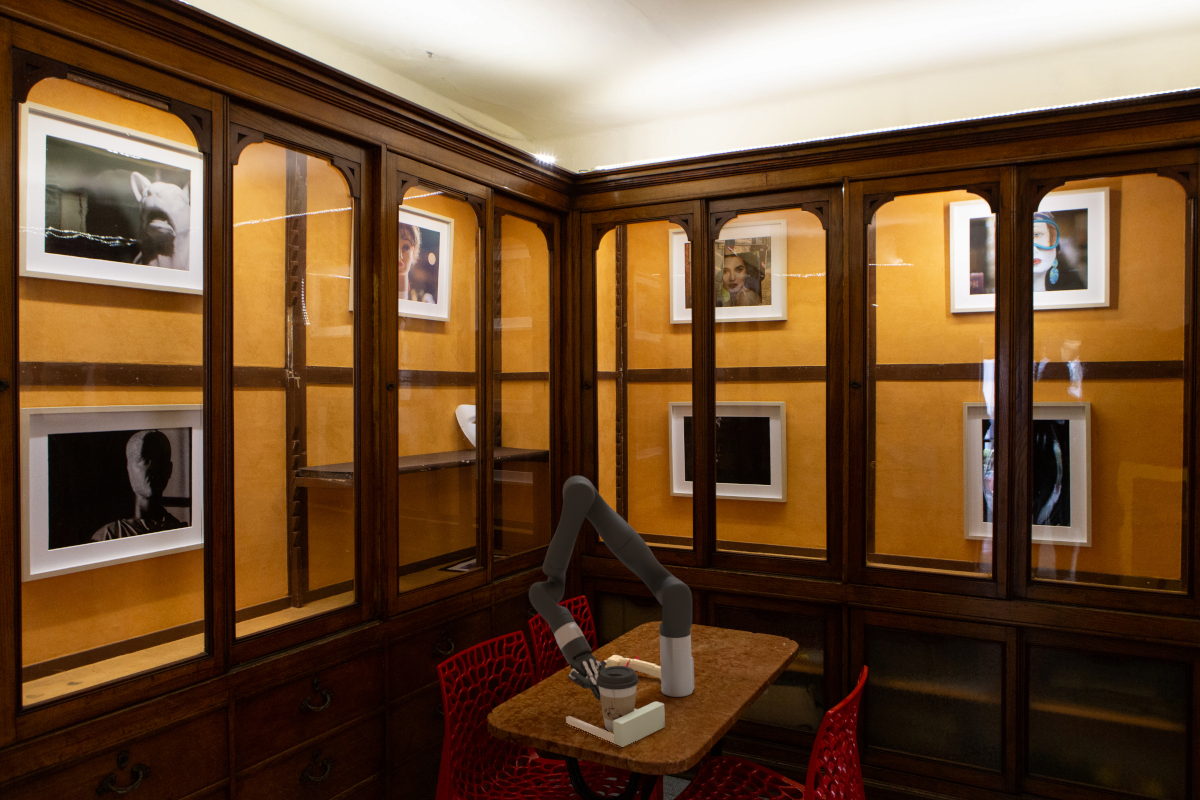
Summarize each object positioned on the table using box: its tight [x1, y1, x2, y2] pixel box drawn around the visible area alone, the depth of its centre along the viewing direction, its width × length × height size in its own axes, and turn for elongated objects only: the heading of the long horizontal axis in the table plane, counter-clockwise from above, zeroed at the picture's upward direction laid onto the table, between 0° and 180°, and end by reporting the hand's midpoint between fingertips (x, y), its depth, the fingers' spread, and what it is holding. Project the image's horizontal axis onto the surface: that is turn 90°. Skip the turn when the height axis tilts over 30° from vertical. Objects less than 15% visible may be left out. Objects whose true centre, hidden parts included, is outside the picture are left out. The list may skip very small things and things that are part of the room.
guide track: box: [565, 701, 666, 748], centre depth 202 cm, size 16×21×6 cm
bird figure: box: [604, 654, 661, 681], centre depth 238 cm, size 10×9×25 cm
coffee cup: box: [595, 666, 640, 733], centre depth 201 cm, size 11×11×15 cm
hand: (602, 698), depth 205 cm, fingers closed
